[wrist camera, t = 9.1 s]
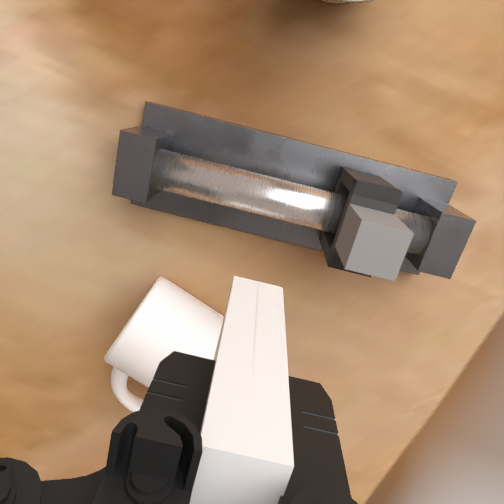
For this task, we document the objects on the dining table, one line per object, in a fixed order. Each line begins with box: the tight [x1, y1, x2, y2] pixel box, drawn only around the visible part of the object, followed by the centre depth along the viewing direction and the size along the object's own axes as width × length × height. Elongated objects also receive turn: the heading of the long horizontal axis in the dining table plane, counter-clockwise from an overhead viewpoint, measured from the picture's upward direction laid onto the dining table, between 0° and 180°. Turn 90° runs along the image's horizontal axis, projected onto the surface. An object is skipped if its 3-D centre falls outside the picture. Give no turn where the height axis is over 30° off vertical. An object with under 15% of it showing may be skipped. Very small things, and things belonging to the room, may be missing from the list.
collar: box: [319, 167, 414, 281], centre depth 28 cm, size 3×6×10 cm, turn 166°
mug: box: [104, 276, 224, 412], centre depth 35 cm, size 12×10×8 cm
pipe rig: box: [112, 102, 476, 279], centre depth 31 cm, size 24×8×6 cm, turn 76°
